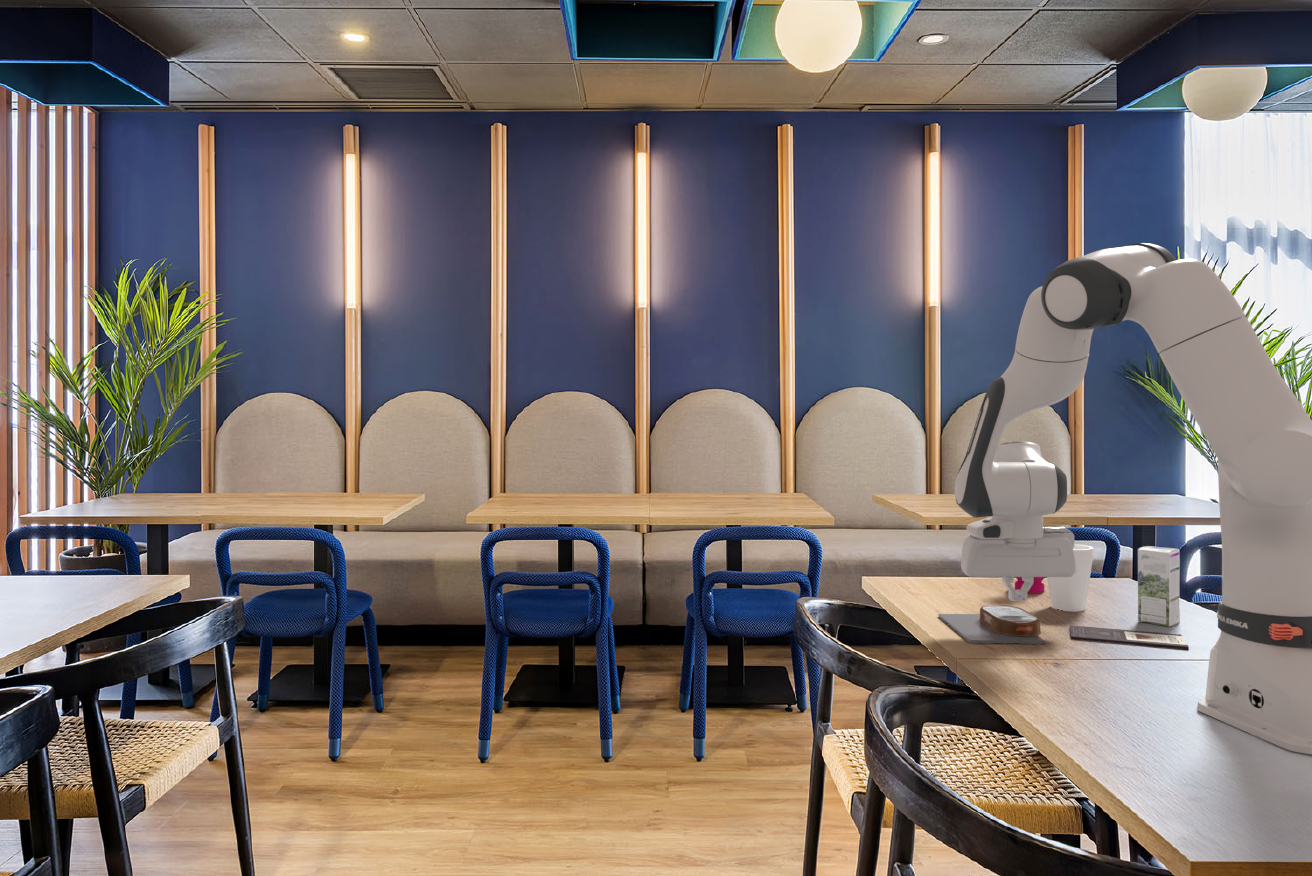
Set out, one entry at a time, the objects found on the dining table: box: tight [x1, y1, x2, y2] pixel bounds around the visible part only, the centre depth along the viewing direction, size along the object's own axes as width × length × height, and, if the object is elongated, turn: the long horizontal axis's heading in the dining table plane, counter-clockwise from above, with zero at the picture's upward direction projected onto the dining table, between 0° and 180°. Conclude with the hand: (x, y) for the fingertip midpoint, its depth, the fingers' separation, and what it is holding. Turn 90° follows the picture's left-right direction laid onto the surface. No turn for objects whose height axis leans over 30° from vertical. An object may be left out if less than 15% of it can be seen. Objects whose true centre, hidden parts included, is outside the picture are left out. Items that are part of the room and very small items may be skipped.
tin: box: [979, 604, 1042, 637], centre depth 155 cm, size 15×3×8 cm
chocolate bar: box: [1069, 624, 1190, 651], centre depth 148 cm, size 9×1×18 cm
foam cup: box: [1046, 543, 1095, 613], centre depth 172 cm, size 10×9×13 cm
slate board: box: [937, 613, 1046, 645], centre depth 156 cm, size 20×13×1 cm, turn 177°
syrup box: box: [1137, 545, 1181, 627], centre depth 160 cm, size 6×6×14 cm
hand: (1017, 600), depth 155 cm, fingers closed
